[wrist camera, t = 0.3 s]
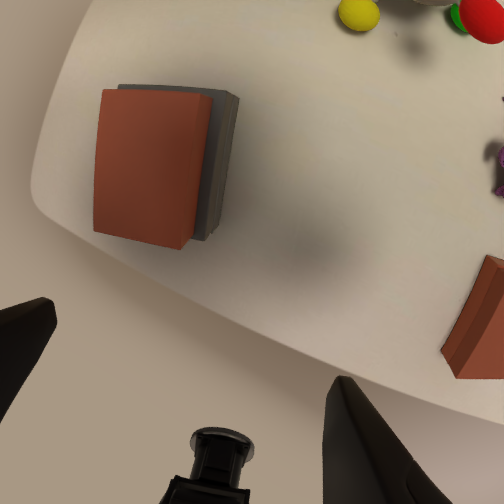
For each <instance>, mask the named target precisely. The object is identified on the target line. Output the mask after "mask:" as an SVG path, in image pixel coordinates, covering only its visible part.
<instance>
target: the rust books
mask: <svg viewBox="0 0 504 504" xmlns="http://www.w3.org/2000/svg"><path fill="white" fill-rule="evenodd" d="M441 352H442V354H443V355H444V357H445V359H446V361H447V363H448V364H449V366H450V368H451V370H452V372H453V374H454V376H455V378H456V379H504V260H501V259H498V258H495V257H491V256H488V255H487V256H486V258H485V261H484V263H483V266H482V268H481V271H480V273H479V276H478V278H477V280H476V283H475V285H474V287H473V289H472V292H471V294H470V296H469V298H468V300H467V302H466V305H465V307H464V309H463V311H462V313H461V315H460V317H459V319H458V321H457V323H456V325H455V326H454V328H453V330H452V332H451V334H450V336H449V338H448V339H447V341H446V343H445V345H444V347H443V348H442V350H441Z"/></svg>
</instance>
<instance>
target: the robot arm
mask: <svg viewBox="0 0 504 504" xmlns="http://www.w3.org/2000/svg"><path fill="white" fill-rule="evenodd" d="M56 325H57V317H56V312H55V306H54V303H53V301H52V300H50V299H48V298H45V297H40V298H37V299H34V300H31V301H28V302H25V303H21V304H18V305H15V306H12V307H8V308H5V309H2V310H0V423H1V421H2V419H3V417H4V416H5V414H6V412H7V410H8V409H9V407H10V405H11V403H12V402H13V400H14V398H15V397H16V395H17V393H18V392H19V390H20V388H21V387H22V385H23V383H24V382H25V380H26V379H27V377H28V376H29V374H30V373H31V371H32V369H33V368H34V366H35V365H36V363H37V362H38V360H39V358H40V356H41V354H42V352H43V350H44V348H45V346H46V345H47V343H48V341H49V339H50V337H51V335H52V334H53V332H54V330H55V328H56ZM250 447H251V445H250V444H249V443H245V442H239V441H234V440H229V439H225V438H220V437H215V436H211V435H207V434H203V433H197V435H196V443H195V455H194V457H195V461H194V464H193V468H192V472H191V475H190V478H189V479H187V478H183V477H180V476H178V475H175V477H174V479H171V481H170V484H169V487H168V490H167V491H166V493H165V495H164V496H163V498H162V499H161V501H160V503H159V504H249V498H250V489H246V490H245V489H238V486H239V480H240V474H241V468H243V466H244V464H245V461H246V458H247V456H248V453H249V450H250ZM322 456H323V504H452V502H451V501H450V500H449V499H448V498H447V497H446V496H445V495H444V494H443V493H442V492H441V491H440V490H439V489H438V488H437V487H436V486H435V484H434V483H433V482H432V481H431V480H430V479H429V477H428V476H427V475H426V474H425V472H424V471H423V470H422V469H421V467H420V466H419V465H418V463H417V462H416V461H415V460H413V457H412V456H411V454H410V453H409V452H408V450H407V449H406V448H405V446H404V445H403V444H402V443H401V441H400V440H399V439H398V438H397V436H396V435H395V433H394V432H393V431H392V429H391V428H390V427H389V426H388V424H387V423H386V422H385V420H384V419H383V418H382V416H381V415H380V414H379V413H378V411H377V410H376V409H375V408H374V406H373V405H372V403H371V402H370V401H369V399H368V398H367V397H366V395H365V394H364V393H363V392H362V390H361V389H360V388H359V387H358V385H357V384H356V382H355V381H354V380H353V379H352V378H351V377H347V376H340V375H339V376H337V377H336V379H335V380H334V383H333V384H332V386H331V388H330V390H329V392H328V394H327V398H326V407H325V419H324V431H323V442H322Z"/></svg>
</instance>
